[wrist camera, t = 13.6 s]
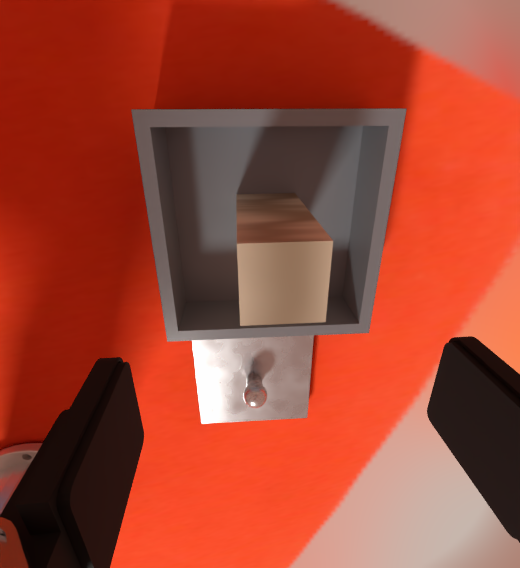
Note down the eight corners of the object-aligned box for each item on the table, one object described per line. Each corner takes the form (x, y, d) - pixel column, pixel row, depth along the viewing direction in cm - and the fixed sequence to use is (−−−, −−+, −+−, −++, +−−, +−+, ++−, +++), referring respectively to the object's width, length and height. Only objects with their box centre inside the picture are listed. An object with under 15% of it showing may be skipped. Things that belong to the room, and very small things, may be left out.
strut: (294, 193, 23) (333, 240, 14) (292, 248, 25) (325, 322, 16) (236, 194, 23) (236, 243, 14) (238, 249, 24) (240, 325, 15)
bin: (347, 298, 28) (368, 332, 23) (178, 304, 27) (167, 341, 23) (371, 110, 22) (406, 108, 17) (153, 111, 21) (131, 109, 16)
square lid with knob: (304, 405, 33) (313, 443, 29) (202, 411, 33) (198, 450, 29) (310, 320, 29) (322, 351, 25) (193, 325, 28) (186, 357, 24)
